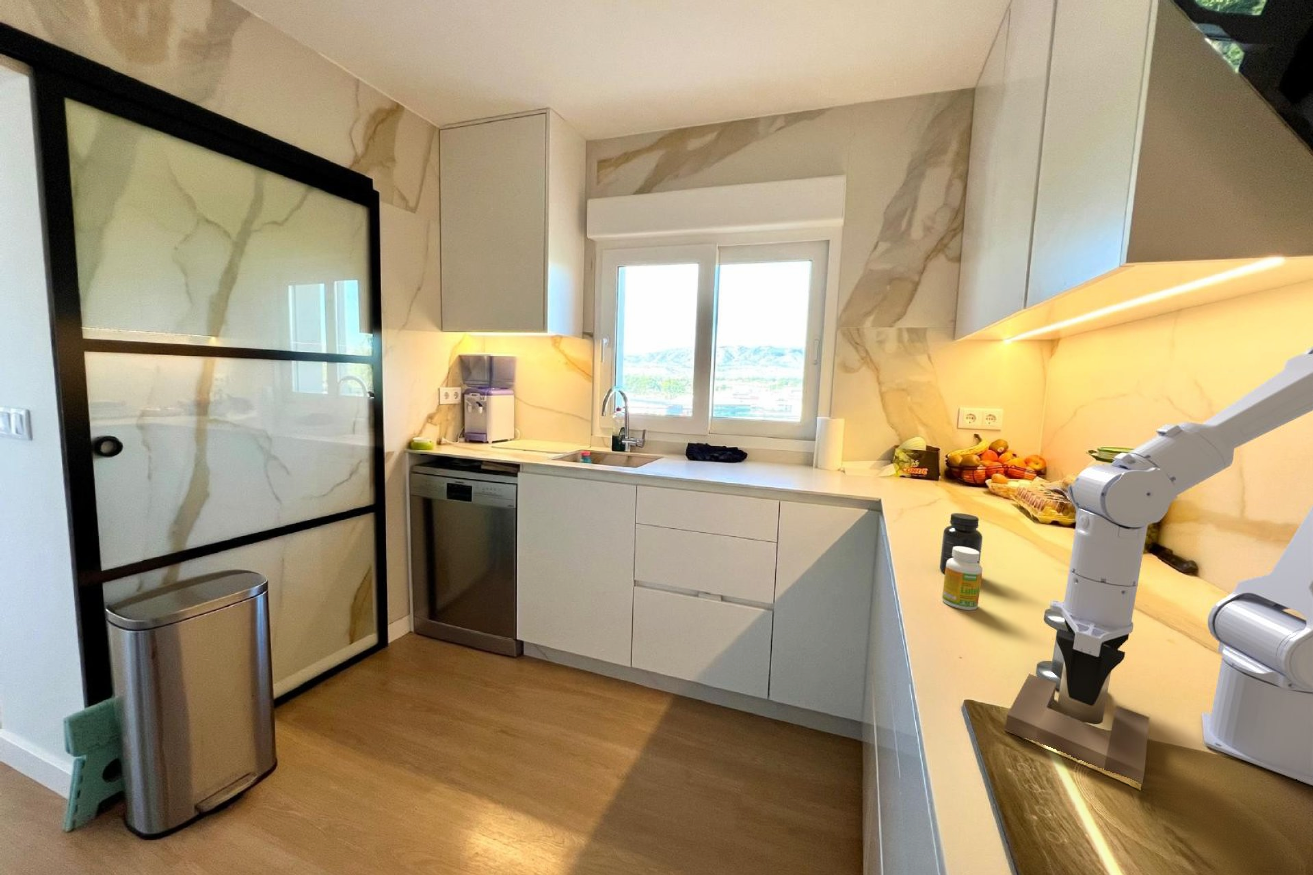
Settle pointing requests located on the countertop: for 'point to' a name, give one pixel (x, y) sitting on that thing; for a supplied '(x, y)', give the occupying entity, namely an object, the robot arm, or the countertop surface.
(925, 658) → the countertop surface
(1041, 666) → the bobbin post
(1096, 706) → the beige banded cylinder
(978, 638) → the countertop surface
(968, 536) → the supplement bottle
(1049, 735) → the notched board
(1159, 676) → the countertop surface
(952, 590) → the supplement bottle
